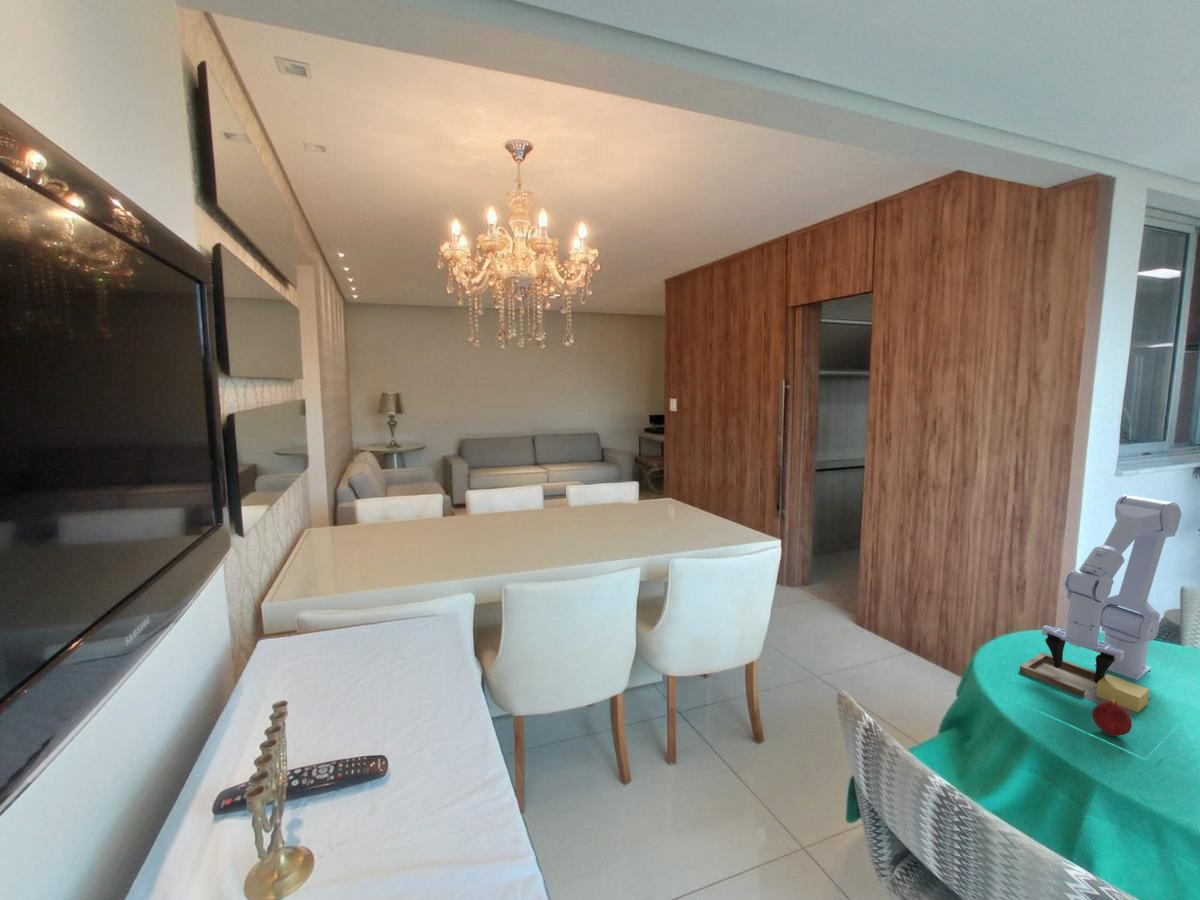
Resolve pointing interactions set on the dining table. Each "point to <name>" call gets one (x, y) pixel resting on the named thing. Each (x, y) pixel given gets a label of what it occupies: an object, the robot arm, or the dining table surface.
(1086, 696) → the mat
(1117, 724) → the onion
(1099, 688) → the block
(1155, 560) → the robot arm
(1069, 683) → the brown wooden tray
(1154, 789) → the dining table surface
